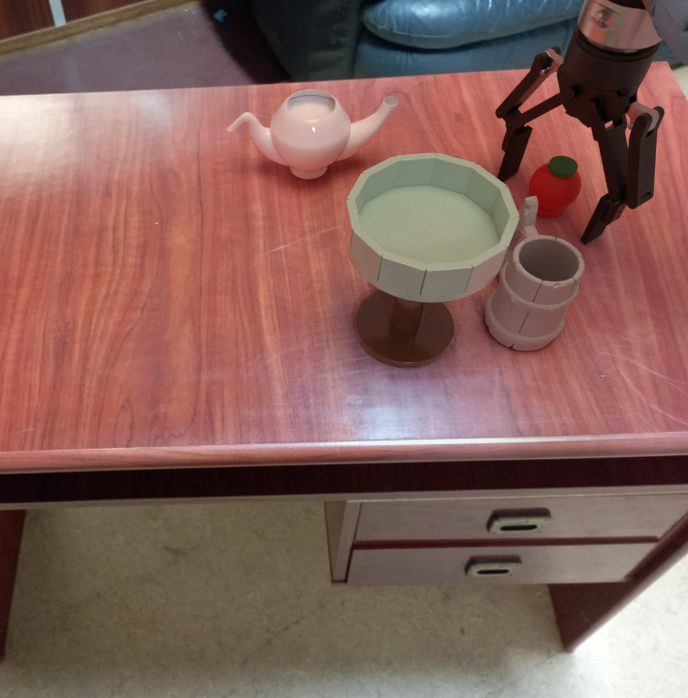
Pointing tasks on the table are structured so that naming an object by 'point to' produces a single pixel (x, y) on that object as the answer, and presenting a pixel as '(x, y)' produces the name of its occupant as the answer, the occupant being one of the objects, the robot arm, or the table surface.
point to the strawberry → (555, 185)
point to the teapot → (313, 131)
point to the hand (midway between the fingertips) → (547, 205)
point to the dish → (423, 249)
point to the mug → (533, 286)
